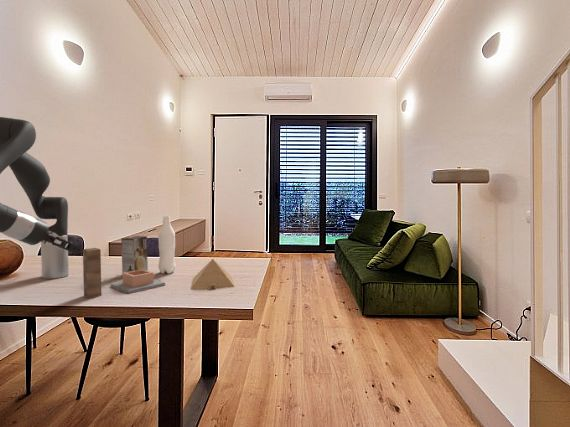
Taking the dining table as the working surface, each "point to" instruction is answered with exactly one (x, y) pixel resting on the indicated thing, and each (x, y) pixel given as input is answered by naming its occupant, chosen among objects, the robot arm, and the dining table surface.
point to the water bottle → (166, 247)
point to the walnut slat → (92, 272)
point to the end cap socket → (137, 281)
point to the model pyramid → (212, 277)
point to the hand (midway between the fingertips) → (72, 247)
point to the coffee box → (134, 253)
